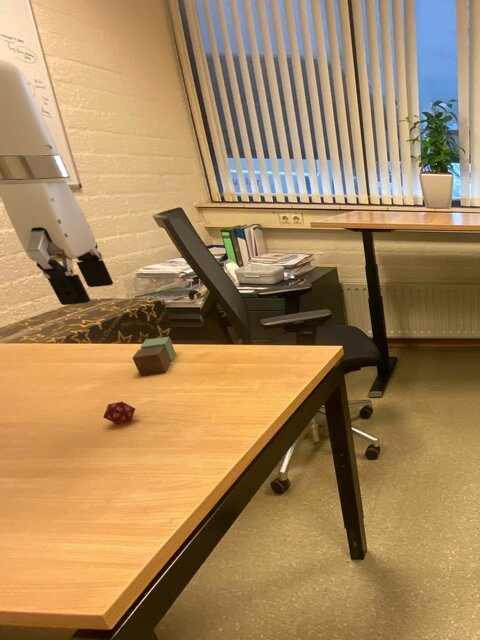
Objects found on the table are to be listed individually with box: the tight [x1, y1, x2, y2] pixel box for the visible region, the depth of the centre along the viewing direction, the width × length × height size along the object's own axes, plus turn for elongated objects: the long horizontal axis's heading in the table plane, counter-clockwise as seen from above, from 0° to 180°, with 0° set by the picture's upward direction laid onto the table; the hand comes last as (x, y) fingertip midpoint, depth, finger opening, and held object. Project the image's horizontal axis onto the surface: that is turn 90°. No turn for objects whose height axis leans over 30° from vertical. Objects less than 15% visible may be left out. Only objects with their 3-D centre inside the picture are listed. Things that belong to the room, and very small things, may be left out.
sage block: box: [140, 336, 177, 363], centre depth 96 cm, size 4×4×4 cm
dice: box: [102, 401, 136, 425], centre depth 74 cm, size 4×4×4 cm
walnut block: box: [132, 346, 171, 377], centre depth 91 cm, size 4×4×4 cm
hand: (89, 294), depth 64 cm, fingers open, 9 cm apart
